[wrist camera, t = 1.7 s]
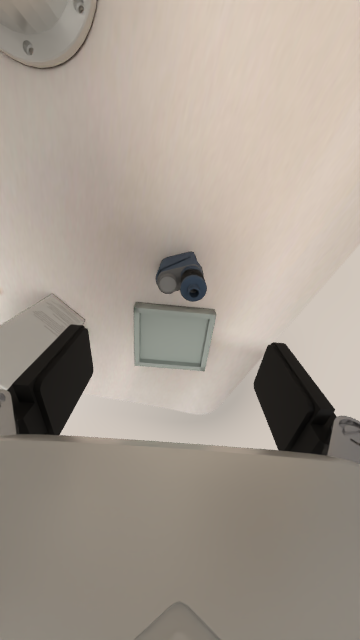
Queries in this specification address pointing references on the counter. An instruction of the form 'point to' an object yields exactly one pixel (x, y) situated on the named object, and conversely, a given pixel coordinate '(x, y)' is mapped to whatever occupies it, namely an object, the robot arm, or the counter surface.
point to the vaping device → (182, 276)
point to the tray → (172, 336)
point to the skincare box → (32, 336)
